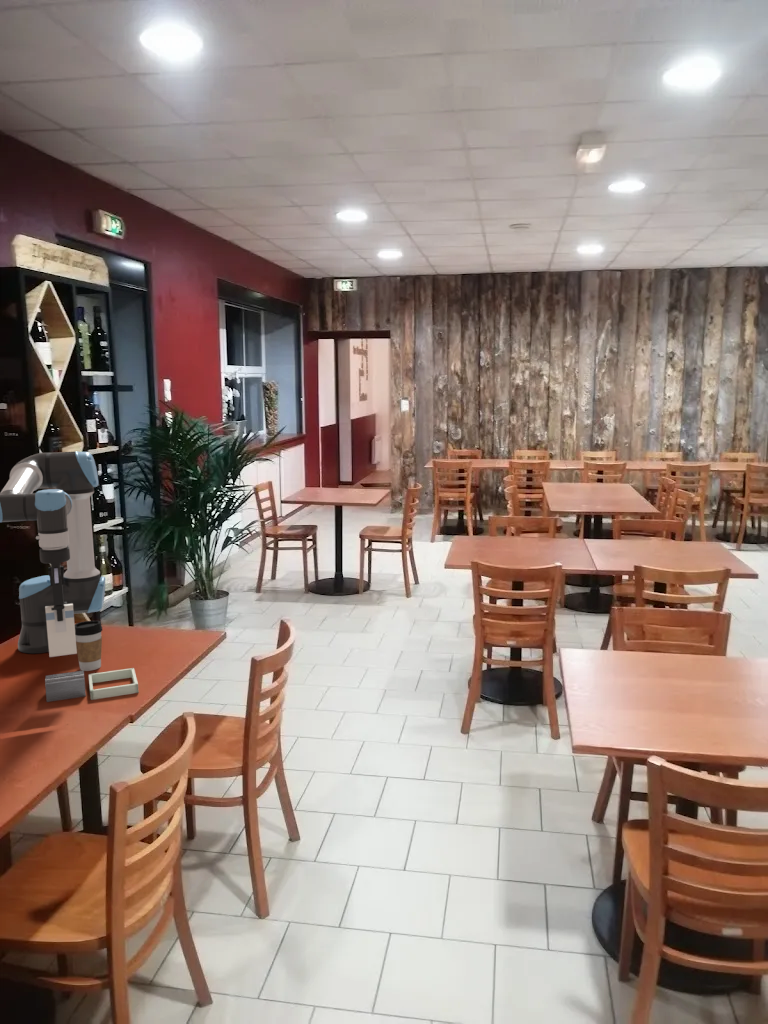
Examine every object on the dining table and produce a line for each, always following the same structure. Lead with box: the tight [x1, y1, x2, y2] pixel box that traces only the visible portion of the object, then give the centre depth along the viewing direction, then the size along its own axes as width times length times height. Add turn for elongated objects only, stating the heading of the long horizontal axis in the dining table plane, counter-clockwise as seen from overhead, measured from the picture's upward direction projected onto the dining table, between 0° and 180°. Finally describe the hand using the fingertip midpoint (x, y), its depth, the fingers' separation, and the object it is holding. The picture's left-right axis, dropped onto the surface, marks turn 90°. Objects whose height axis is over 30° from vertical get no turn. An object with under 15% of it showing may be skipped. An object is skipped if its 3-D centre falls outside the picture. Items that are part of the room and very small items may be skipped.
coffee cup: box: [74, 620, 103, 672], centre depth 238 cm, size 8×8×15 cm
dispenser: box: [44, 670, 87, 703], centre depth 218 cm, size 7×10×7 cm
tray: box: [88, 667, 140, 701], centre depth 222 cm, size 14×13×4 cm
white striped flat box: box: [45, 604, 77, 658], centre depth 215 cm, size 2×7×14 cm, turn 112°
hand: (61, 630), depth 215 cm, fingers closed on white striped flat box, 2 cm apart
